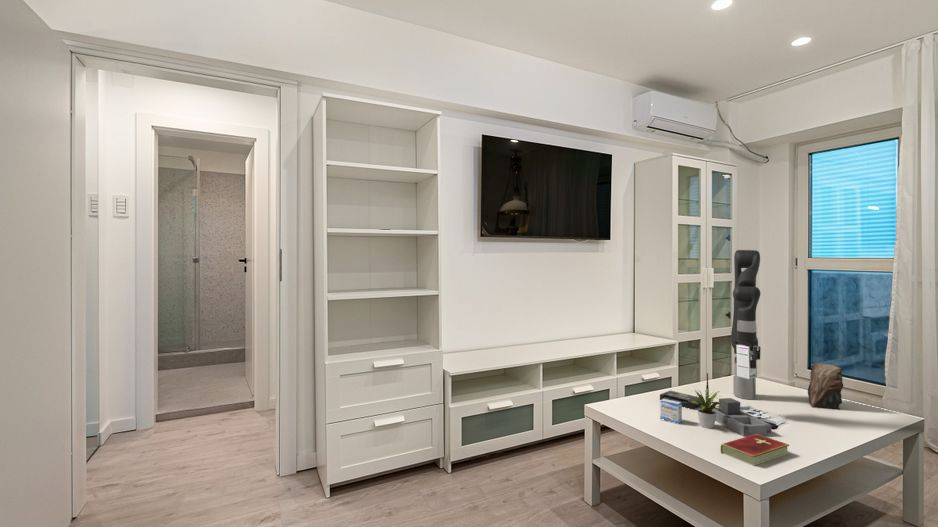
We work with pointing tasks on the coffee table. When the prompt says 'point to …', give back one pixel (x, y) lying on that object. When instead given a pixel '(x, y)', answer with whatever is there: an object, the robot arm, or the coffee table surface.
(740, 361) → the syrup box
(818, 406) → the brown rock
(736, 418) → the grey desk organizer
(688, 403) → the black wifi router
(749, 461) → the hardcover book
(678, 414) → the medicine box
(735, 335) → the robot arm
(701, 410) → the house plant
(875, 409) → the coffee table surface
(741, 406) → the light blue square frame
